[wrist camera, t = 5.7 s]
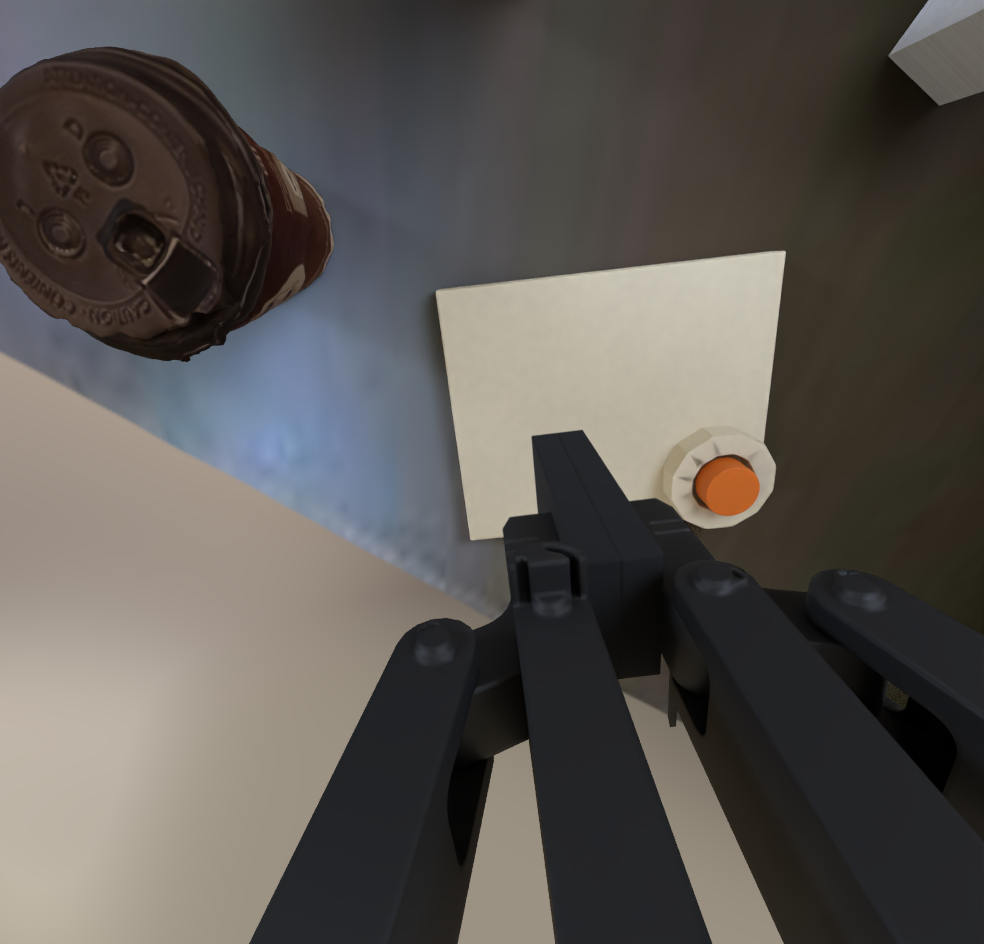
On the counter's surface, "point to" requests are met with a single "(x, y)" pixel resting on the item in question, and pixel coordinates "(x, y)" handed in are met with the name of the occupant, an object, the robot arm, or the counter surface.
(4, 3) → the counter surface
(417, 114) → the counter surface
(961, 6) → the grey tapered block
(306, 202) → the coffee cup
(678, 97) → the counter surface
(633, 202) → the counter surface
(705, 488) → the button
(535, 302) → the scale
